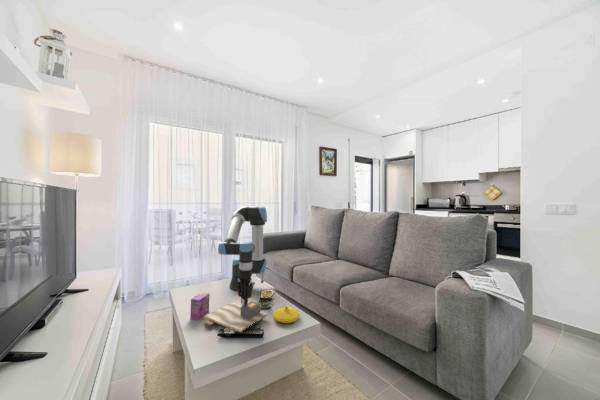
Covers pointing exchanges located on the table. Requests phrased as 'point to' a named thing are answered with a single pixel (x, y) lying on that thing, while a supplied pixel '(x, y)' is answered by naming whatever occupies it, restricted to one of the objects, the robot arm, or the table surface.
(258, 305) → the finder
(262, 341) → the table surface
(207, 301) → the box
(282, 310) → the yellow pattypan squash
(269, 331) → the table surface
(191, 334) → the table surface
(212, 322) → the beige cloth
